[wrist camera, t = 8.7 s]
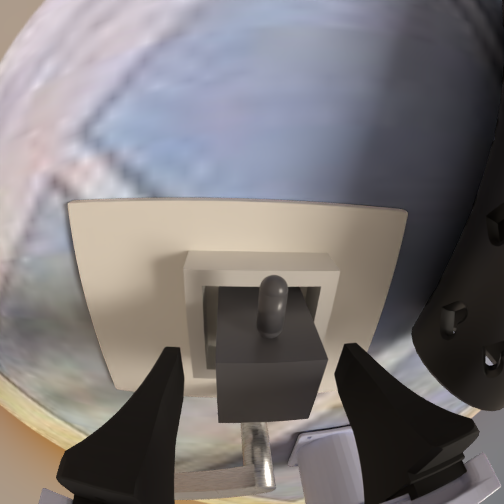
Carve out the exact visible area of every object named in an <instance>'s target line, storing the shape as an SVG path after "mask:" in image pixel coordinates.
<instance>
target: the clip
mask: <svg viewBox="0 0 504 504" xmlns="http://www.w3.org/2000/svg"><path fill="white" fill-rule="evenodd" d="M241 437H242V452H243V466H241V467H234V468H227V469H219V470H209V471H198V472H183V473H174V500H197V499H216V498H229V497H238V496H247V495H254V494H261V493H267V492H271V491H273V490H275V489H276V485H275V478H274V471H273V464H272V457H271V449H270V442H269V435H268V427H267V422H250V423H241Z"/></svg>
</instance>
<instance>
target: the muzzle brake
mask: <svg viewBox="0 0 504 504" xmlns="http://www.w3.org/2000/svg"><path fill="white" fill-rule="evenodd" d="M502 18H503V27H504V0H502ZM502 84H503V87H502V94H501V101H500V107H499V113H498V118H497V124H496V129H495V138H494V141H493V142H492V146H491V149H490V153H489V157H488V160H487V164H486V167H485V171H484V174H483V177H482V180H481V183H480V187H479V190H478V192H477V196H476V199H475V202H474V204H473V209H472V212H471V214H470V216H469V218H468V220H467V222H466V225H465V227H464V229H463V232H462V234H461V236H460V239H459V241H458V243H457V245H456V248H455V250H454V252H453V254H452V256H451V258H450V261H449V263H448V265H447V267H446V269H445V271H444V273H443V275H442V277H441V279H440V281H439V284H438V287H437V288H436V290H435V291H434V292H433V294H432V296H431V297H430V299H429V301H428V303H427V304H426V306H425V308H424V309H423V311H422V313H421V314H420V316H419V318H418V319H417V321H416V323H415V324H414V326H413V327H412V333H411V335H412V340H413V344H414V346H415V349H416V352H417V354H418V355H419V357H420V359H421V360H422V362H423V364H424V365H425V366H426V368H427V369H428V370H429V372H430V373H431V374H432V375H433V376H434V377H435V378H436V380H437V381H438V382H439V383H440V384H441V385H442V386H443V387H445V388H446V389H447V390H448V391H449V392H450V393H451V394H453V395H454V396H455V397H457V398H458V399H460V400H461V401H463V402H464V403H466V404H468V405H470V406H472V407H475V408H478V409H480V410H486V411H496V410H500V409H502V408H504V67H503V77H502ZM453 331H454V332H455V333H453ZM486 356H487V357H488V358H489V359H490V361H491V362H492V363H493V365H492V366H489V365H487V364H486V363H485V357H486Z"/></svg>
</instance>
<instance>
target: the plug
mask: <svg viewBox="0 0 504 504" xmlns="http://www.w3.org/2000/svg"><path fill="white" fill-rule="evenodd" d="M327 362H328V357H327V354H326V352H325V349H324V347H323V344H322V342H321V339H320V336H319V334H318V331H317V329H316V326H315V324H314V321H313V319H312V316H311V314H310V311H309V309H308V306H307V304H306V301H305V299H304V297H303V294H302V292H301V289H300V287H288V285H287V282H286V281H285V280H284V278H282V277H281V276H278V275H269V276H267V277H265V278H264V279H263V280H262V282H261V284H260V287H240V286H219V289H218V310H217V334H216V385H217V404H218V421H219V423H250V422H273V421H287V420H298V419H308V418H309V415H310V412H311V410H312V407H313V404H314V401H315V398H316V396H317V393H318V390H319V387H320V384H321V381H322V378H323V375H324V372H325V369H326V365H327Z"/></svg>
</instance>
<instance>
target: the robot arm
mask: <svg viewBox="0 0 504 504" xmlns="http://www.w3.org/2000/svg"><path fill="white" fill-rule="evenodd" d="M334 376H335V381H336V385H337V389H338V393H339V396H340V399H341V401H342V404H343V407H344V409H345V412H346V414H347V417H348V420H349V422H350V425H351V426H347V427H342V428H336V429H330V430H323V431H316V432H308V433H302V434H300V435H299V436H298V438H297V441H296V444H295V446H294V449H293V451H292V454H291V456H290V459H289V461H288V466H289V467H292V466H298V467H299V472H300V477H301V482H302V487H303V492H304V498H305V503H306V504H479V503H480V502H481V501H483V500H484V499H486V498H487V497H488V496H490V495H491V494H492V493H494V492H495V491H496V490H497V489H499V488H500V487H501V485H500V482H499V480H498V478H497V476H496V474H495V472H494V470H493V468H492V466H491V464H490V462H489V460H488V459H487V457H486V455H485V453H484V452H482V453H481V454H479V455H477V456H476V457H474V458H473V459H471V460H469V461H468V462H466V463H465V464H463V462H462V460H463V459H464V458H465V456H464V454H463V451H464V450H466V448H468V447H469V446H470V445H471V444H472V443H473V442H474V441H475V439H476V438H477V437H478V436H479V432H480V431H479V430H478V428H477V426H476V425H475V423H474V421H473V420H472V419H471V418H467V417H464V416H461V415H458V414H455V413H452V412H450V411H448V410H445V409H443V408H441V407H439V406H437V405H435V404H433V403H431V402H429V401H427V400H425V399H424V398H422V397H420V396H419V395H417V394H416V393H414V392H413V391H411V390H410V389H408V388H407V387H406V386H404V385H403V384H402V383H401V382H399V381H398V380H397V379H396V378H394V377H393V376H392V375H391V374H390V373H388V372H387V371H386V370H385V369H384V368H383V367H382V366H381V365H380V364H379V363H377V362H376V361H375V360H374V359H373V358H372V357H371V356H370V355H369V354H368V353H367V352H366V351H365V350H364V349H363V348H362V347H361V346H359V345H358V344H357V343H347V344H344V346H343V349H342V352H341V355H340V358H339V361H338V364H337V367H336V370H335V372H334ZM184 380H185V377H184V371H183V365H182V358H181V351H180V347H167V346H166V347H165V348H164V349H163V351H162V353H161V354H160V356H159V358H158V360H157V361H156V363H155V364H154V366H153V368H152V369H151V371H150V372H149V374H148V375H147V376H146V378H145V379H144V381H143V382H142V384H141V385H140V386H139V388H138V389H137V390H136V391H135V393H134V394H133V395H132V396H131V398H130V399H129V400H128V401H127V402H126V403H125V405H124V406H123V407H122V408H121V409H120V410H119V411H118V412H117V413H116V414H115V415H114V416H113V417H112V418H111V419H109V420H108V421H107V422H106V423H105V424H104V425H103V426H102V427H100V428H99V429H98V430H96V431H95V432H94V433H92V434H91V435H90V436H89V437H87V438H86V439H84V440H83V441H81V442H80V443H78V444H76V445H75V446H73V447H71V448H70V449H68V450H66V451H65V453H64V455H63V457H62V459H61V462H60V465H59V469H58V472H57V476H56V478H57V480H58V482H59V483H60V484H61V485H63V486H64V487H65V488H66V489H68V490H69V491H70V492H72V493H73V494H74V499H73V500H72V499H70V498H68V497H65V496H63V495H60V494H58V493H55V492H53V491H50V490H48V489H46V488H43V489H42V492H41V496H40V500H39V504H175V502H174V464H175V445H176V437H177V432H178V426H179V420H180V415H181V409H182V403H183V396H184Z"/></svg>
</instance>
